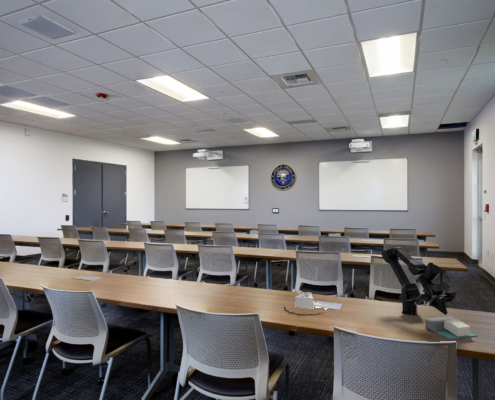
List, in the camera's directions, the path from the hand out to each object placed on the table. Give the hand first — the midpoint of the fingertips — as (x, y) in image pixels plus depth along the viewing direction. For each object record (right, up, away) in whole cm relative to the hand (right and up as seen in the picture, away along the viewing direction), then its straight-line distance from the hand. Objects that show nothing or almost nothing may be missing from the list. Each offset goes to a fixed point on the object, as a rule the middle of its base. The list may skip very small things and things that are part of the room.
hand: (446, 314), depth 158 cm
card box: (0, -3, -2) cm, 4 cm away
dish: (-59, -10, +39) cm, 71 cm away
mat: (+1, -7, -6) cm, 9 cm away
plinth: (0, -7, +2) cm, 8 cm away
